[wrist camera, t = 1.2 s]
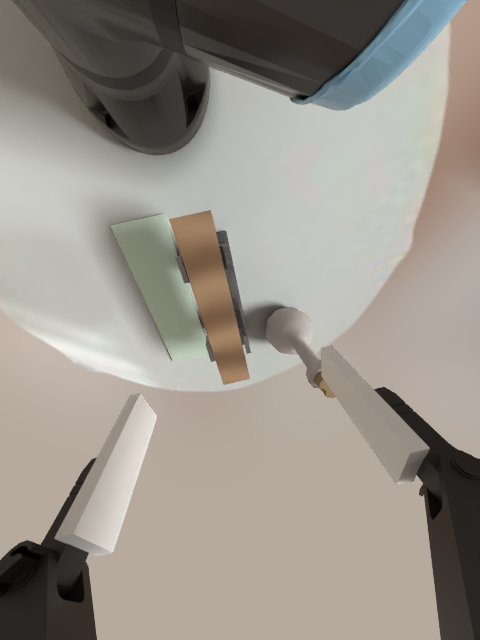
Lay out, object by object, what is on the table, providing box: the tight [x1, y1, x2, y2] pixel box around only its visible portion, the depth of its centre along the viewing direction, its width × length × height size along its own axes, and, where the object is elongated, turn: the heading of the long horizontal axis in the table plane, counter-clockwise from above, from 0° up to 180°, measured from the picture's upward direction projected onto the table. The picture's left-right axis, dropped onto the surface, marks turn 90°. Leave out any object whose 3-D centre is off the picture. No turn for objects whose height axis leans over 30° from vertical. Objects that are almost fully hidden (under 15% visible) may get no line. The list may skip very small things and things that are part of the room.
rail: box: [169, 210, 250, 385], centre depth 24 cm, size 22×4×4 cm, turn 12°
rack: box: [176, 231, 251, 362], centre depth 28 cm, size 18×7×10 cm, turn 12°
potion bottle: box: [266, 307, 335, 398], centre depth 29 cm, size 9×9×18 cm
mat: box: [110, 214, 208, 362], centre depth 32 cm, size 26×8×1 cm, turn 12°
